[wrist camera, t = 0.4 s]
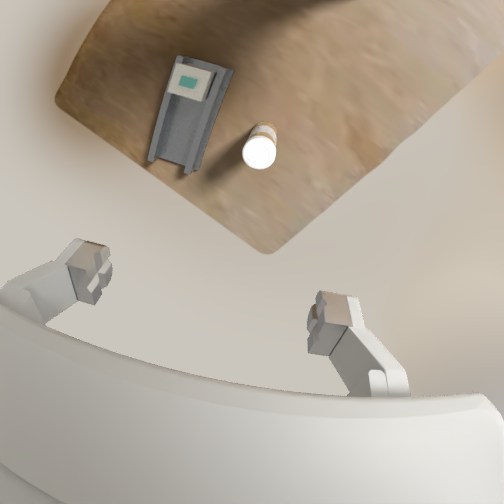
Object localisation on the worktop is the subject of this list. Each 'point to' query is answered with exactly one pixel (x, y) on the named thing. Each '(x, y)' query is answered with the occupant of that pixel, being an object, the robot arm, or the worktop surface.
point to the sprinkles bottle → (260, 146)
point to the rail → (189, 111)
